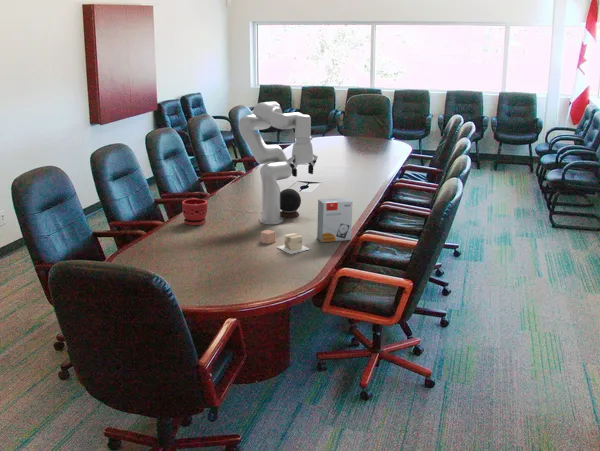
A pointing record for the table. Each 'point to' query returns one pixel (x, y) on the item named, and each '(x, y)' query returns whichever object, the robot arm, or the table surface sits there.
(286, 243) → the maple block
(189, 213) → the plant pot
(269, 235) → the terracotta block
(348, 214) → the hard drive box
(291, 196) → the black ball on stand
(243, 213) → the table surface
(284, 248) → the felt coaster
